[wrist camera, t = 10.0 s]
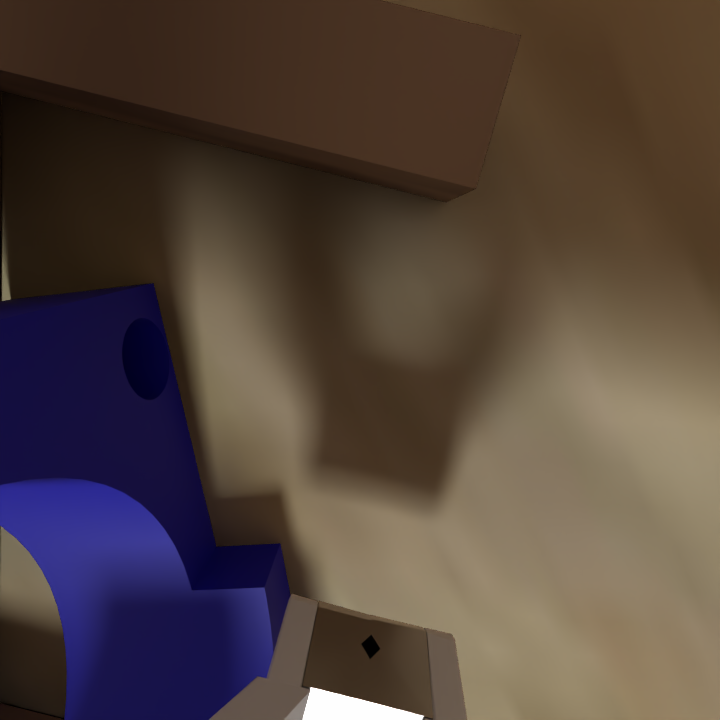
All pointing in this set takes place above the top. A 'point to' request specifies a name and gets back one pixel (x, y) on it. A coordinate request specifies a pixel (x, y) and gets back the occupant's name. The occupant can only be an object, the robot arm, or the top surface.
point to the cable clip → (125, 513)
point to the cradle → (274, 84)
